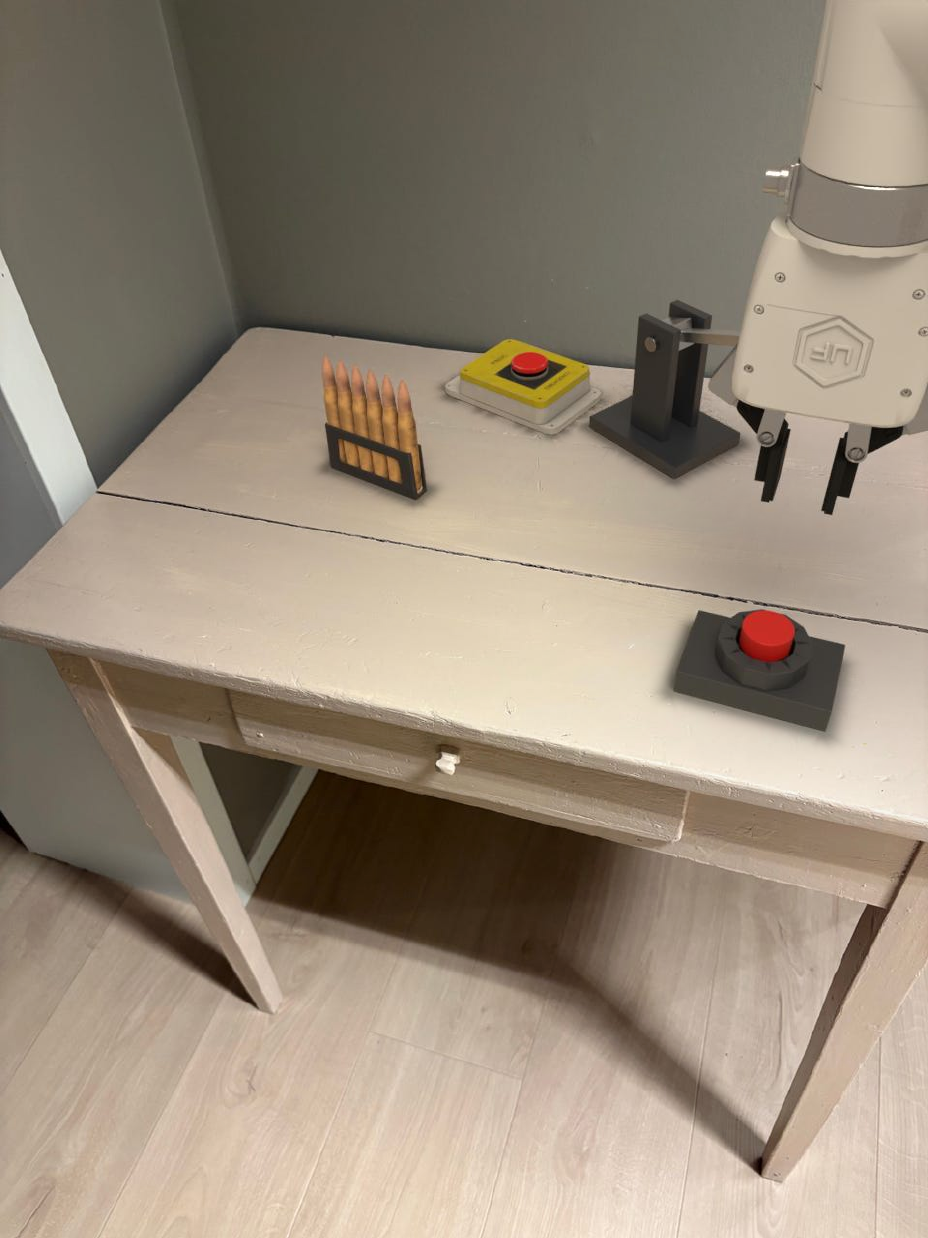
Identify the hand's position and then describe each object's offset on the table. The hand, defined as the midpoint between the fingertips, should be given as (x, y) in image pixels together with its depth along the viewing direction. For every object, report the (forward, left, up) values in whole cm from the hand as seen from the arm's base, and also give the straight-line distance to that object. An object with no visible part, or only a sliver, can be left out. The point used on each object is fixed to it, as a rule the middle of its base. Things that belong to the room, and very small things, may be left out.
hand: (800, 493), depth 60 cm
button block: (0, 0, -17) cm, 17 cm away
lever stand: (+15, -30, -17) cm, 37 cm away
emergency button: (+31, -32, -17) cm, 48 cm away
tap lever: (+10, -27, -6) cm, 29 cm away
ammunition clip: (+39, -14, -17) cm, 45 cm away
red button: (0, 0, -14) cm, 14 cm away
